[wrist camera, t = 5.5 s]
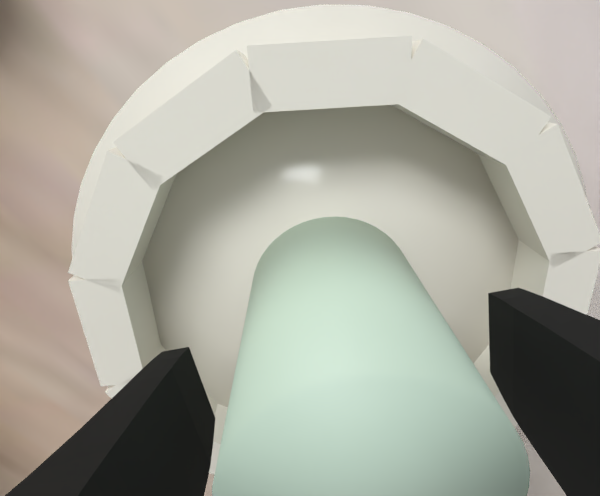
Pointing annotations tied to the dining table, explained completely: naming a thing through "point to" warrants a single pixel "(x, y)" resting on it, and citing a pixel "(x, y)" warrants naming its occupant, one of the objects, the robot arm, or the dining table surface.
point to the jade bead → (357, 381)
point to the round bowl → (321, 183)
